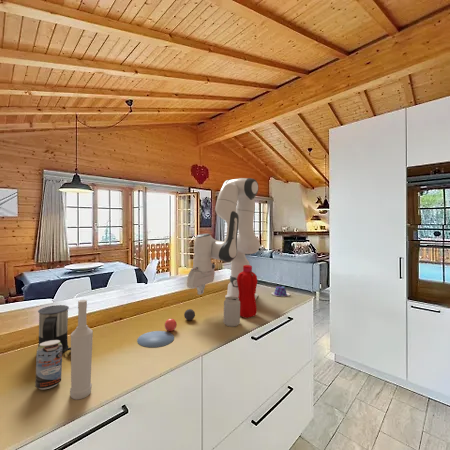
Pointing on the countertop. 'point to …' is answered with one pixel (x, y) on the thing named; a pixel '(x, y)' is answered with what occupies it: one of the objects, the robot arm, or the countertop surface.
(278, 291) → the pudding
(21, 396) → the countertop surface
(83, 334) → the bottle
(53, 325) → the milk frother
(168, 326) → the object ball
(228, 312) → the can
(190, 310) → the dark grey ball
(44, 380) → the beverage can
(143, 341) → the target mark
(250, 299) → the water bottle
